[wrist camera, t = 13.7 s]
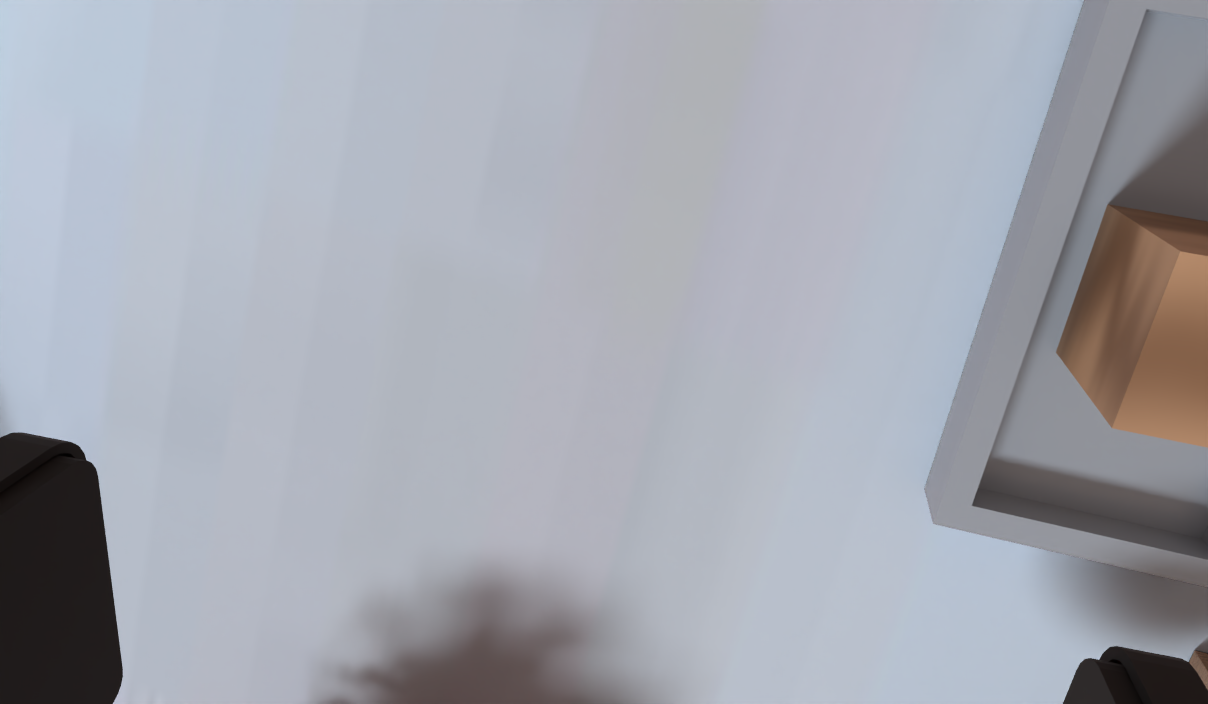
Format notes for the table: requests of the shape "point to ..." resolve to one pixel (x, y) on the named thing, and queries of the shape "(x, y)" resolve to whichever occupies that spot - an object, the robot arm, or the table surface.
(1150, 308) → the walnut block
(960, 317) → the table surface
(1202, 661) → the balance
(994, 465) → the dish low side
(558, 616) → the table surface
